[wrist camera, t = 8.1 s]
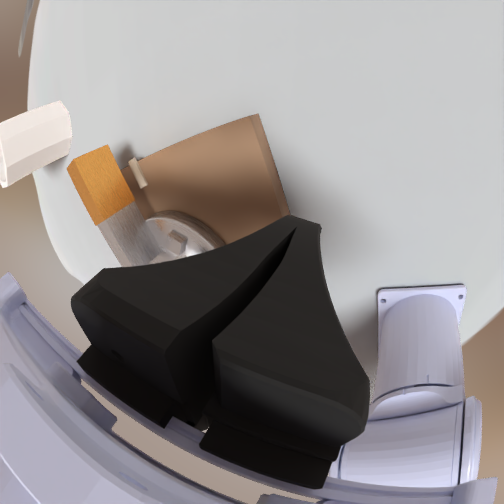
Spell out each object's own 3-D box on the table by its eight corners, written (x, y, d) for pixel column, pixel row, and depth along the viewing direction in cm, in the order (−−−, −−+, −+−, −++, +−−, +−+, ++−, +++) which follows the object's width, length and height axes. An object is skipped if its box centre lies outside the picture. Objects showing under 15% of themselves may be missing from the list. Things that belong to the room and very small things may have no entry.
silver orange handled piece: (262, 311, 25) (237, 357, 21) (178, 312, 31) (152, 345, 27) (158, 109, 17) (101, 125, 13) (92, 168, 24) (51, 190, 20)
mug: (74, 106, 22) (2, 133, 15) (72, 166, 28) (12, 200, 21) (38, 92, 24) (-18, 113, 16) (37, 142, 29) (-12, 167, 22)
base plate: (322, 339, 26) (318, 352, 25) (171, 322, 37) (164, 330, 36) (256, 107, 16) (245, 110, 15) (95, 180, 28) (84, 186, 26)
